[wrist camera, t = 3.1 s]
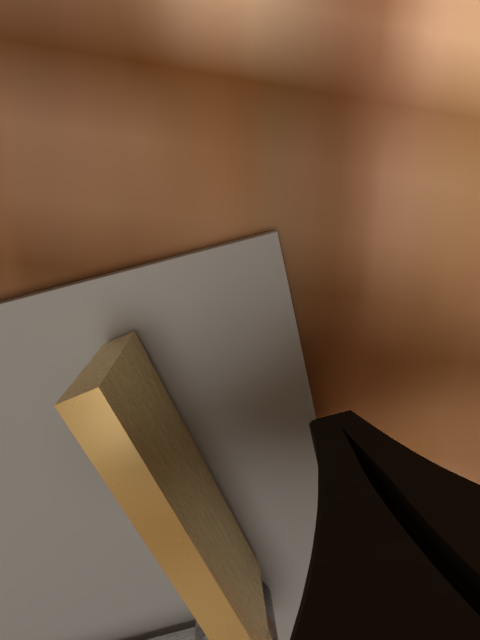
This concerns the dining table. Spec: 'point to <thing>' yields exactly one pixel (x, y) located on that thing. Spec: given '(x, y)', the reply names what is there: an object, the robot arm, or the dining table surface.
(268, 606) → the fixed leaf
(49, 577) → the board
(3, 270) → the dining table surface
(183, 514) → the swing leaf
